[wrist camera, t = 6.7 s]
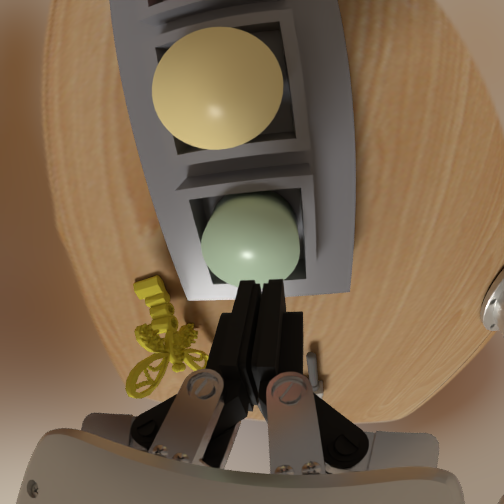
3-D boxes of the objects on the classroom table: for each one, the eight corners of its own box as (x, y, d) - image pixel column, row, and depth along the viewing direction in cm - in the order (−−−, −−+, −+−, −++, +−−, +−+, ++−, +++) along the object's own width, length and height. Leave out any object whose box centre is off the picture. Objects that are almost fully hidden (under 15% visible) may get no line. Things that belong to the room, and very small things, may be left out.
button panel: (299, -86, 6) (304, -122, 2) (342, 266, 21) (354, 312, 17) (127, -49, 8) (90, -69, 4) (197, 276, 23) (181, 319, 19)
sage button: (293, 182, 14) (296, 201, 12) (299, 259, 17) (301, 286, 15) (202, 192, 15) (190, 212, 13) (220, 264, 18) (213, 291, 16)
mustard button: (273, 29, 9) (272, 17, 7) (288, 131, 12) (291, 141, 10) (166, 51, 10) (142, 47, 8) (185, 145, 13) (166, 159, 10)
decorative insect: (204, 284, 30) (222, 372, 28) (181, 290, 31) (197, 375, 29) (118, 264, 19) (138, 401, 16) (93, 274, 20) (110, 399, 17)
